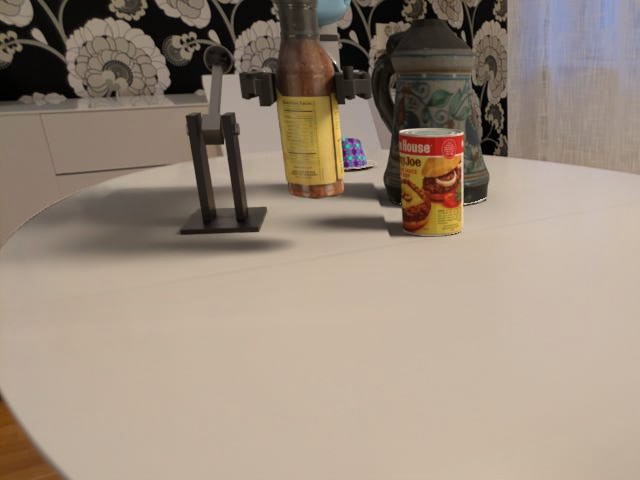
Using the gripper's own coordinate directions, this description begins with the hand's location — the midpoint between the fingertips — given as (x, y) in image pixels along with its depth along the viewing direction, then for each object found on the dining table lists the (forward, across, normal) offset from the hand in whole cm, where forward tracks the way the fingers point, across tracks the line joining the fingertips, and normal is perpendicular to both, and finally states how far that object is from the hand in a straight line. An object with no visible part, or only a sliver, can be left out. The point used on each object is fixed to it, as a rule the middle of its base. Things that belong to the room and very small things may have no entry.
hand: (303, 89), depth 65 cm
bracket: (-19, +12, -17) cm, 28 cm away
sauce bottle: (-5, 0, -11) cm, 12 cm away
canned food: (-14, -14, -18) cm, 26 cm away
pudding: (-67, -4, -18) cm, 69 cm away
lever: (-26, +12, -3) cm, 29 cm away
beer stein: (-35, -16, -18) cm, 42 cm away
